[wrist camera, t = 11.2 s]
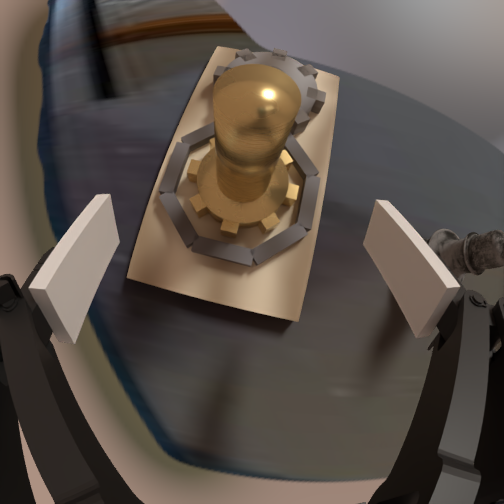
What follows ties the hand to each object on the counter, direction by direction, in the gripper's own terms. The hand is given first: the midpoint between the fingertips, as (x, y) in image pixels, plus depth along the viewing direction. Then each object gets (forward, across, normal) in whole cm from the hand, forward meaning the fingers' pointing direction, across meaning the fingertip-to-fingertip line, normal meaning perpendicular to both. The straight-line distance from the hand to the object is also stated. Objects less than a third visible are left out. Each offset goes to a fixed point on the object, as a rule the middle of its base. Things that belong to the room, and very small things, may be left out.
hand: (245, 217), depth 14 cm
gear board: (+14, +1, -1) cm, 14 cm away
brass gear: (+10, 0, -3) cm, 10 cm away
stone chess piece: (+7, +19, -8) cm, 22 cm away
